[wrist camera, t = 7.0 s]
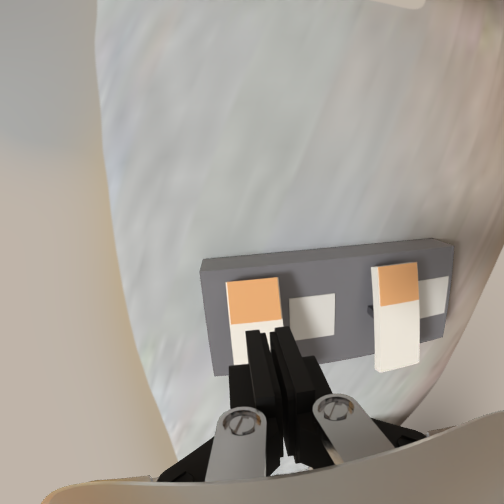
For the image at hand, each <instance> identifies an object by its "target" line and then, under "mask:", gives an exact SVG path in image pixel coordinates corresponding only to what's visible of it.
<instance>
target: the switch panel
mask: <svg viewBox="0 0 504 504" xmlns="http://www.w3.org/2000/svg"><path fill="white" fill-rule="evenodd" d="M453 257H454V246H453V245H450V244H448V243H445V242H442V241H439V240H436V239H433V238H429V239H418V240H407V241H397V242H386V243H375V244H365V245H354V246H343V247H332V248H321V249H310V250H300V251H289V252H278V253H267V254H256V255H245V256H234V257H222V258H211V259H203V260H202V264H201V268H200V279H201V287H202V295H203V303H204V310H205V317H206V324H207V331H208V338H209V345H210V352H211V358H212V365H213V371H214V376H226V375H229V366H230V365H234V361H233V352H232V342H231V333H230V323H229V313H228V303H227V292H226V282H233V281H243V280H254V279H264V278H274V277H278V279H279V288H280V298H281V308H282V318H283V327H285V326H289V327H290V329H291V332H292V334H293V336H294V339H295V341H296V344H297V346H298V349H299V351H300V353H301V356H302V357H305V356H312V355H314V356H315V358H316V360H317V362H318V364H323V363H329V362H335V361H341V360H346V359H351V358H356V357H362V356H366V355H371V354H375V337H374V308H373V290H372V275H371V267H376V266H384V265H392V264H400V263H408V262H417V269H418V285H419V314H420V343H423V342H426V341H430V340H434V339H437V338H441V337H443V333H444V328H445V322H446V316H447V309H448V303H449V295H450V287H451V278H452V269H453Z"/></svg>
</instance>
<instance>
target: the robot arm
mask: <svg viewBox="0 0 504 504" xmlns="http://www.w3.org/2000/svg"><path fill="white" fill-rule="evenodd" d="M245 335H246V345H247V355H248V364H241V365H230V366H229V388H230V408H231V409H230V410H228V411H226V412H225V413H223V414H222V415H221V416H220V418H219V420H218V422H217V427H216V432H215V436H214V437H213V438H211V439H210V440H209V441H207V442H206V443H204V444H203V445H202V446H200V447H199V448H197V449H196V450H195V451H193V452H192V453H190V454H189V455H188V456H186V457H185V458H183V459H182V460H180V461H179V462H177V463H176V464H174V465H173V466H172V467H170V468H168V469H167V470H165V471H164V472H163V473H162V474H161V475H160V476H159V477H157V478H151V476H150V475H148V476H140V477H132V478H121V479H109V480H95V481H90V482H86V483H81V484H74V485H69V486H66V487H62V488H59V489H57V490H55V491H53V492H51V493H50V494H49V495H48V496H46V498H45V499H44V500H43V501H42V503H41V504H504V410H503V411H498V412H494V413H491V414H486V415H484V416H481V417H478V418H475V419H472V420H470V421H468V422H465V423H462V424H460V425H457V426H452V427H447V428H442V429H437V430H431V431H428V432H427V434H426V435H424V434H422V433H420V432H418V431H415V430H412V429H408V428H404V427H401V426H397V425H393V424H390V423H386V422H383V421H380V420H376V419H373V418H370V417H369V416H368V414H367V413H366V412H365V411H364V410H363V408H362V407H361V406H360V405H359V404H358V402H357V401H356V400H355V399H353V398H352V397H350V396H348V395H344V394H333V393H332V391H331V389H330V387H329V385H328V383H327V381H326V378H325V376H324V374H323V372H322V370H321V368H320V366H319V364H318V362H317V360H316V358H315V356H314V355H312V356H305V357H302V356H301V353H300V351H299V349H298V346H297V344H296V341H295V339H294V336H293V334H292V332H291V329H290V327H289V326H285V327H276V328H275V330H274V332H270V348H269V344H268V340H267V337H266V333H260V330H249V331H245ZM270 351H271V352H270ZM283 437H284V442H285V446H286V450H287V454H288V456H293V455H294V459H295V463H302V464H305V465H307V466H309V470H308V471H303V472H297V473H291V474H284V475H277V476H270V475H271V474H272V473H273V472H274V471H275V470H276V469H277V468H278V467H279V466H280V457H283Z"/></svg>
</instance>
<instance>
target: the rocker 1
mask: <svg viewBox="0 0 504 504" xmlns="http://www.w3.org/2000/svg"><path fill="white" fill-rule="evenodd" d="M226 292H227V303H228V313H229V323H230V333H231V342H232V352H233V361H234V365H241V364H248V355H247V345H246V335H245V331H249V330H260V333H266V337H267V340H268V344H269V348H270V332H274V330H275V328H276V327H283V318H282V308H281V298H280V288H279V279H278V277H274V278H264V279H254V280H243V281H233V282H226ZM270 352H271V351H270Z"/></svg>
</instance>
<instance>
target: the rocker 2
mask: <svg viewBox="0 0 504 504" xmlns="http://www.w3.org/2000/svg"><path fill="white" fill-rule="evenodd" d="M371 275H372V290H373V308H374V337H375V369H376V370H377V371H378V372H380V373H382V372H386V371H390V370H394V369H398V368H402V367H406V366H410V365H413V364H417V363H419V345H420V314H419V285H418V269H417V262H408V263H400V264H392V265H384V266H376V267H371Z"/></svg>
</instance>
